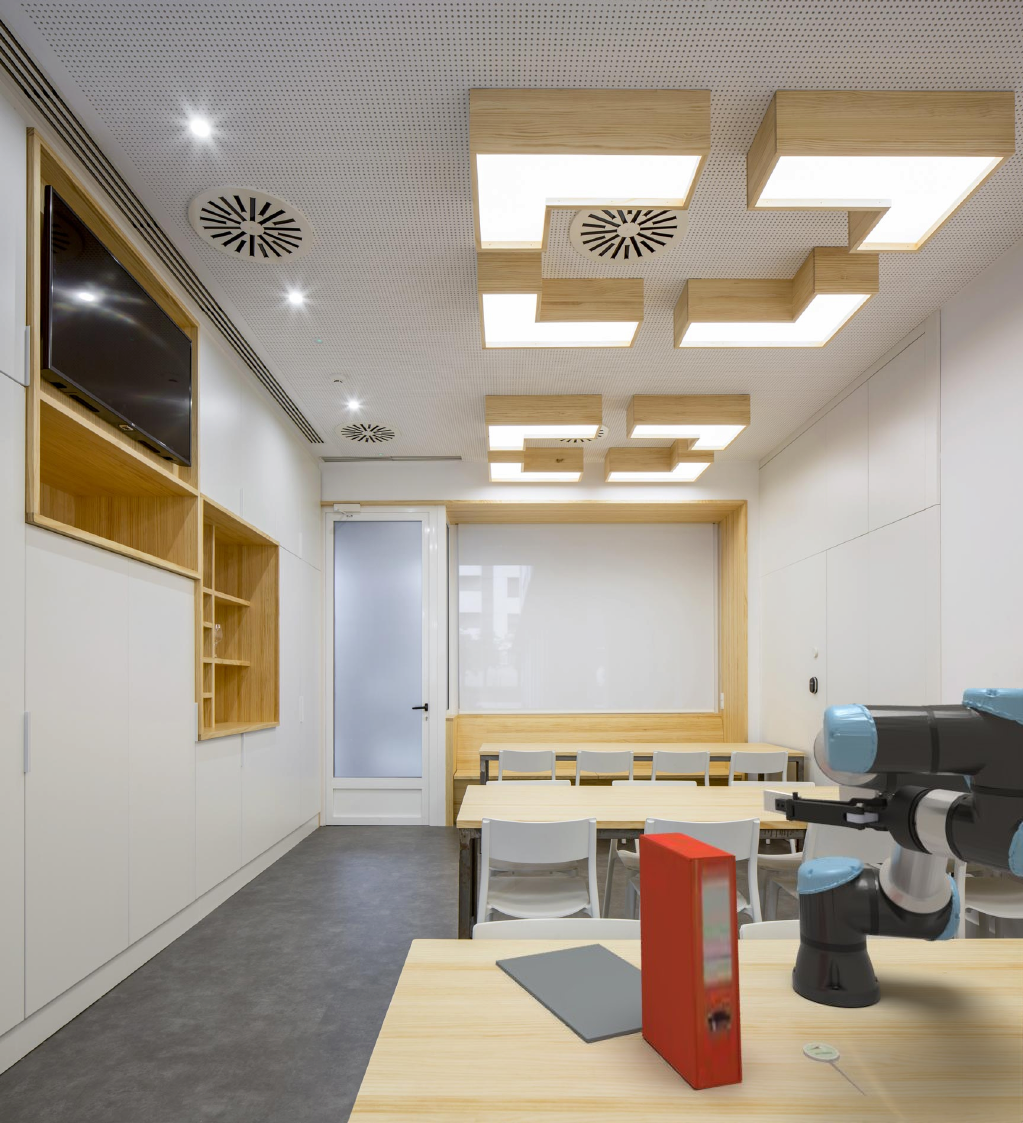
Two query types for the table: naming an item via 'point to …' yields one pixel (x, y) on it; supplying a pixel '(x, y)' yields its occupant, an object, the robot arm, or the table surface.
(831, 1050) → the sign
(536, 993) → the mat
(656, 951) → the file binder
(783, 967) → the table surface
